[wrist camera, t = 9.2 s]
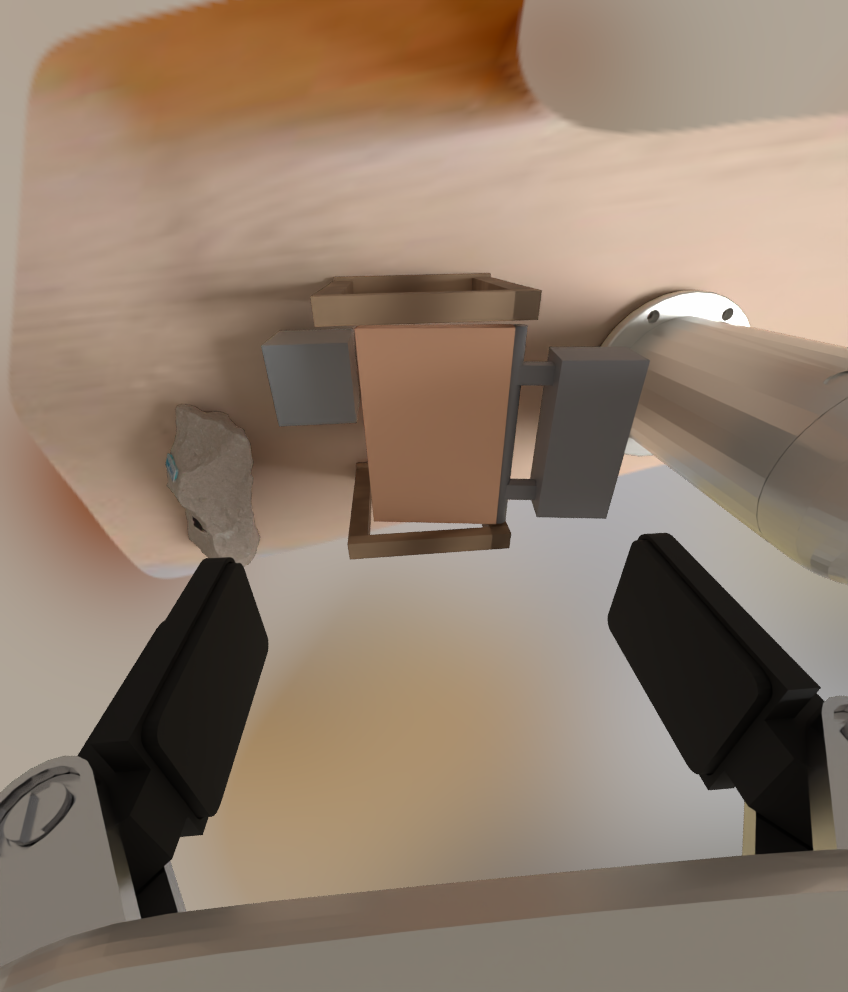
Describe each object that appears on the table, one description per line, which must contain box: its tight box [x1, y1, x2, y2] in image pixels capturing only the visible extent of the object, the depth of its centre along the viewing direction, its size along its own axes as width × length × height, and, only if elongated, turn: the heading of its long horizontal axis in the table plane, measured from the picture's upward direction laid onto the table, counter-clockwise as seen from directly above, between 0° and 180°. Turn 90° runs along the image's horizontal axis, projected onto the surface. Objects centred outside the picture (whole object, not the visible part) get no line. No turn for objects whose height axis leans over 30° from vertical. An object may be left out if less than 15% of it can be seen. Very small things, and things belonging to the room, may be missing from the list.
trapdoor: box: [354, 324, 650, 524], centre depth 22 cm, size 14×12×3 cm
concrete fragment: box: [165, 404, 260, 567], centre depth 30 cm, size 7×14×6 cm, turn 163°
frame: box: [310, 273, 542, 559], centre depth 26 cm, size 10×15×10 cm
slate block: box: [261, 328, 360, 426], centre depth 27 cm, size 5×5×5 cm
